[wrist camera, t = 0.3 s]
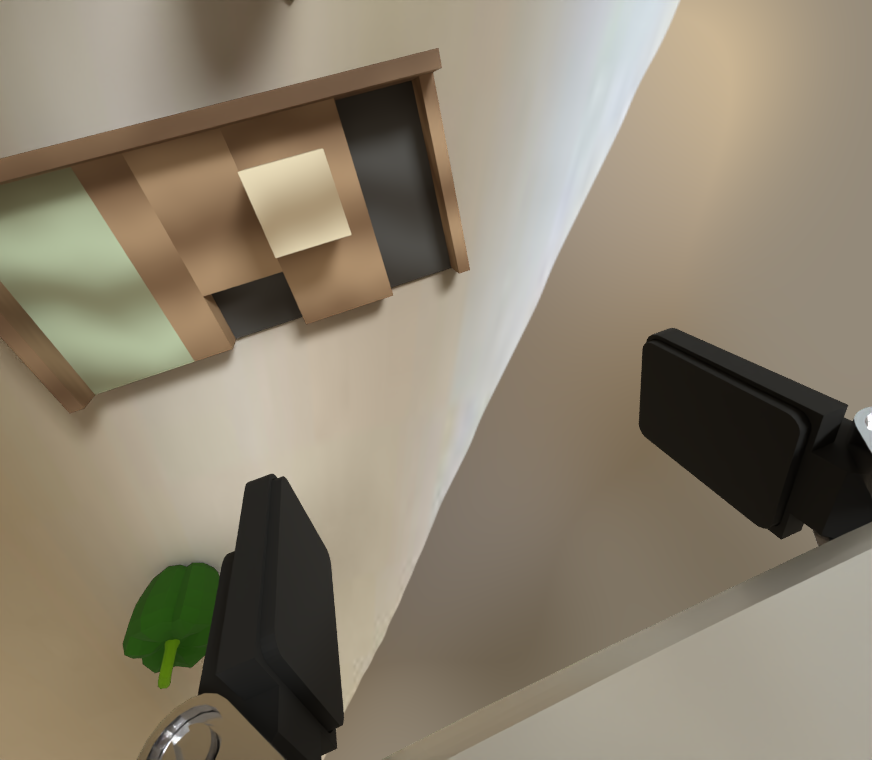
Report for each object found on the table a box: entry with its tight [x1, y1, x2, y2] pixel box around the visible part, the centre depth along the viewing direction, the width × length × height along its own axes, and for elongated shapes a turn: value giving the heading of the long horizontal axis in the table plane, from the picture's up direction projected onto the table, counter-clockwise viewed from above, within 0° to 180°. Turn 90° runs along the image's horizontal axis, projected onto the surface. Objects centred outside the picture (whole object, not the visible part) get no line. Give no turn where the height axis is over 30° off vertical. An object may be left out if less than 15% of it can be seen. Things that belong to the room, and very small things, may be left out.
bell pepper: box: [123, 563, 220, 689], centre depth 41 cm, size 8×8×10 cm
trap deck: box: [0, 48, 470, 413], centre depth 30 cm, size 15×32×4 cm, turn 103°
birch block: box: [238, 149, 352, 258], centre depth 27 cm, size 5×5×5 cm
